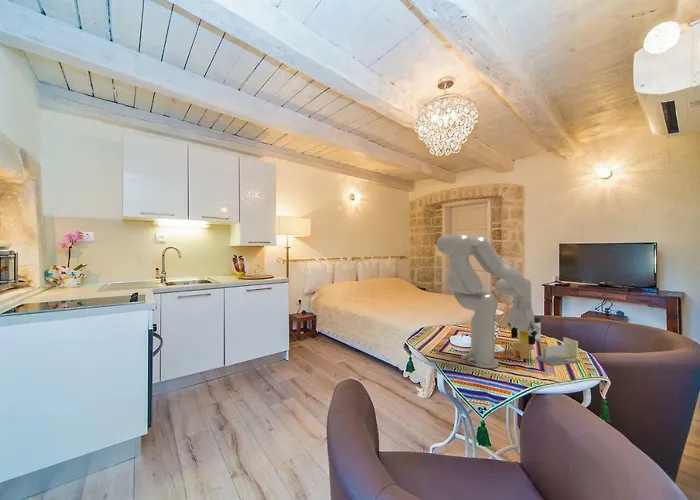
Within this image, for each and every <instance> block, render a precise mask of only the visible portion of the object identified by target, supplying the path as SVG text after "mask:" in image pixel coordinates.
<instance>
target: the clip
mask: <svg viewBox="0 0 700 500" xmlns="http://www.w3.org/2000/svg"><path fill="white" fill-rule="evenodd" d="M530 350H531V349H530V346H527V345H525V344H522V343H518V342H513V343H512V355H513V356H515V357H518V356H519V358H520V359H521V360H526V359H530V353H531V351H530Z"/></svg>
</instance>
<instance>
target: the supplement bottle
mask: <svg viewBox="0 0 700 500" xmlns="http://www.w3.org/2000/svg"><path fill="white" fill-rule="evenodd" d="M517 330H518V337H517V343H522V344H525V345H527V346H530V350H531V349H533V348H534V344H532V345H530V344H529V343H528V336H530V335H529V333H528V332H527V331H523V330H520V329H517ZM531 333H532V331H531Z"/></svg>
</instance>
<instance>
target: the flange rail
mask: <svg viewBox="0 0 700 500" xmlns="http://www.w3.org/2000/svg"><path fill="white" fill-rule="evenodd" d="M562 338H563V339H562V340H563V341H562V345H549V346H543V347H542V355H539V356H535V360H538V361H540V362H542V363H544V364H546V365H549V366H551V367H554V366H562V365H569V364H576V363H577V364H578V363H581V359H579V341H577V340H574V339H571V338H568V337H562Z"/></svg>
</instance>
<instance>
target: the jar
mask: <svg viewBox="0 0 700 500" xmlns="http://www.w3.org/2000/svg"><path fill="white" fill-rule="evenodd" d="M534 322H535V324H536V325H537V326H538V327H539V328H540V330H539V332H538V334H537V335H536V336H535V341H536V340H537V341H538V340H539V341H540V340H541V330H542V327H541V324H542V323H541V316H538V315H534ZM534 330H535V329H534Z"/></svg>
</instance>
